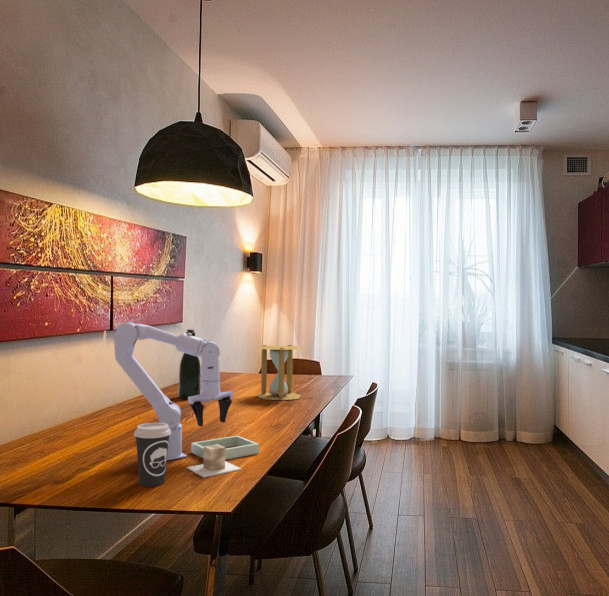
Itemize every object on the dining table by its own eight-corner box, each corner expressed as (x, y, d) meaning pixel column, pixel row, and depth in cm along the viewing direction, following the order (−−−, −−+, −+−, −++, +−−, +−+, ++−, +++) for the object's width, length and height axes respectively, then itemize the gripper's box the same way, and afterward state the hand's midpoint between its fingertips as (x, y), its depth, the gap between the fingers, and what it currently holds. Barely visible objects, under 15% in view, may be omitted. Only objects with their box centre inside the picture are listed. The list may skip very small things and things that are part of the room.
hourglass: (254, 393, 291) (254, 344, 291) (297, 392, 295) (298, 344, 295) (258, 401, 268) (259, 348, 268) (305, 400, 272) (306, 348, 272)
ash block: (210, 471, 160) (211, 449, 160) (203, 467, 163) (203, 446, 163) (224, 468, 162) (225, 447, 162) (217, 464, 166) (217, 444, 166)
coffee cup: (173, 476, 155) (174, 422, 155) (166, 488, 146) (167, 430, 146) (138, 476, 155) (139, 421, 155) (128, 488, 145) (129, 429, 145)
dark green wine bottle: (177, 396, 278) (178, 328, 278) (199, 395, 282) (200, 328, 281) (179, 400, 268) (180, 330, 268) (201, 399, 271) (203, 330, 271)
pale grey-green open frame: (210, 462, 169) (211, 452, 169) (191, 452, 180) (191, 442, 180) (258, 453, 180) (259, 443, 180) (237, 444, 190) (237, 435, 190)
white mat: (203, 477, 155) (203, 476, 155) (187, 468, 163) (187, 467, 163) (241, 469, 162) (241, 468, 162) (223, 461, 170) (223, 460, 170)
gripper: (194, 384, 169) (195, 429, 170) (237, 379, 178) (238, 422, 178) (184, 381, 175) (185, 425, 175) (226, 376, 184) (227, 418, 184)
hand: (211, 423), depth 177 cm, fingers open, 7 cm apart
